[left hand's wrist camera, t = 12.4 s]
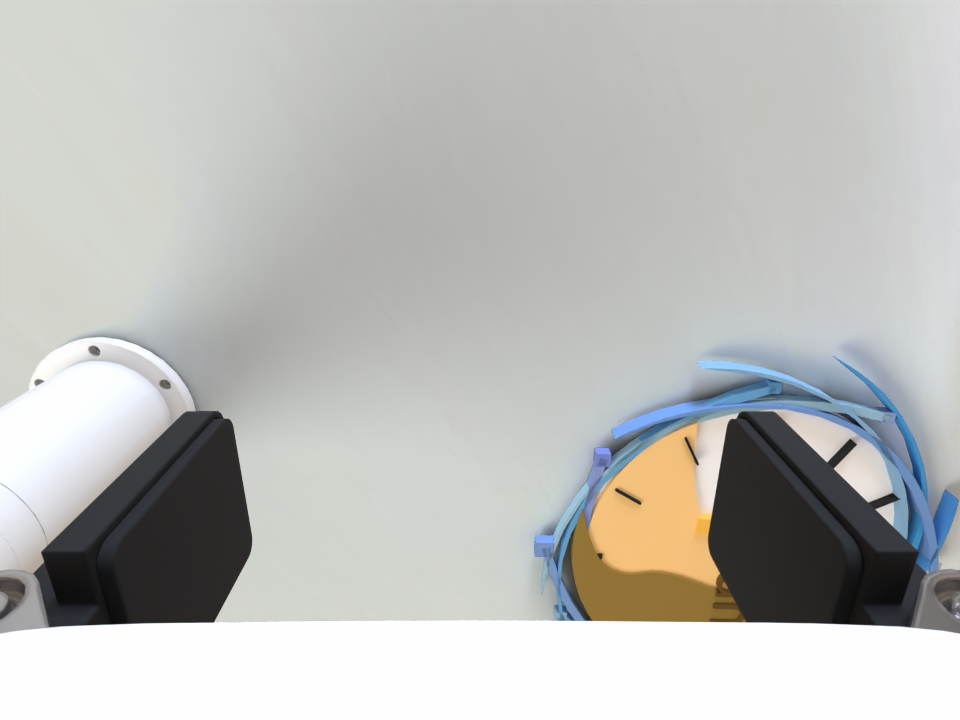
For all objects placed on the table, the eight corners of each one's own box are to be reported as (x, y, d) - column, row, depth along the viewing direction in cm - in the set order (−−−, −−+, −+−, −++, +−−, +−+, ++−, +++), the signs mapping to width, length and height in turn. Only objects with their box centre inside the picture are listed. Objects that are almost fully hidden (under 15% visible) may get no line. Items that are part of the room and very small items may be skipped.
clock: (549, 343, 45) (552, 353, 44) (1003, 358, 46) (1026, 368, 44) (522, 676, 58) (524, 695, 56) (878, 685, 59) (891, 704, 57)
